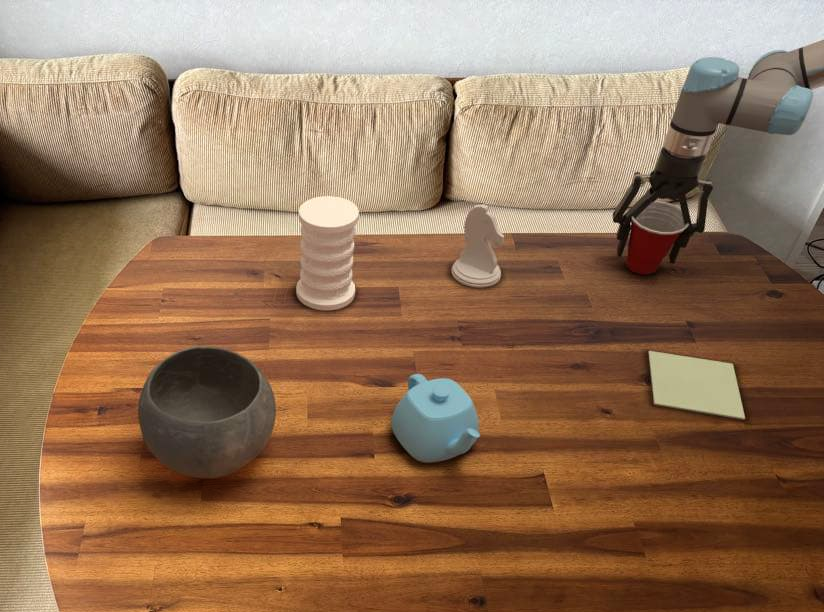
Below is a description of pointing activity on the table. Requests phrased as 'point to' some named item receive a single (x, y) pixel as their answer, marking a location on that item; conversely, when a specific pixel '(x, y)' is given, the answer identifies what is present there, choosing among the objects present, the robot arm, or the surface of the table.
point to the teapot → (435, 419)
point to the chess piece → (479, 250)
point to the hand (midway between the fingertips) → (645, 256)
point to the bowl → (206, 411)
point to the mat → (695, 385)
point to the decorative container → (327, 252)
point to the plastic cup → (653, 236)
